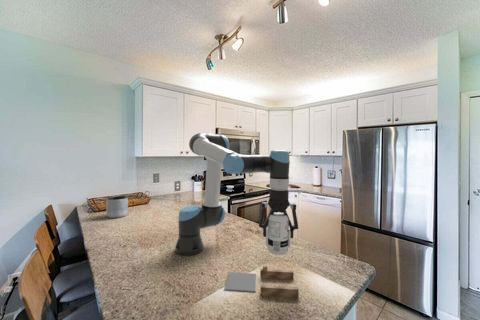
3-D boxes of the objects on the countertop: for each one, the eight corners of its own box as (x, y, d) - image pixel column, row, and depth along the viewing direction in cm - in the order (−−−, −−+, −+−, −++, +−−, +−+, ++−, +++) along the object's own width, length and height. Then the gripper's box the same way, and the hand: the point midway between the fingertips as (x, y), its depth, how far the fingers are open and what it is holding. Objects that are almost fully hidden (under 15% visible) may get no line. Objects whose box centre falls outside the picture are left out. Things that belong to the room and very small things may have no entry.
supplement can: (265, 246, 89) (266, 211, 88) (284, 246, 90) (285, 211, 89) (269, 255, 81) (270, 216, 80) (290, 255, 82) (291, 216, 81)
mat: (224, 290, 82) (224, 289, 82) (228, 273, 94) (228, 272, 94) (255, 292, 81) (255, 291, 81) (255, 274, 93) (255, 273, 93)
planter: (112, 219, 169) (112, 200, 169) (102, 216, 178) (102, 198, 178) (131, 215, 183) (131, 197, 182) (121, 212, 191) (121, 195, 191)
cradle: (260, 295, 79) (260, 283, 79) (260, 275, 93) (260, 265, 92) (298, 297, 78) (298, 285, 78) (292, 277, 91) (292, 266, 91)
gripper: (252, 189, 82) (251, 247, 82) (308, 191, 80) (306, 250, 80) (253, 186, 89) (252, 239, 90) (303, 188, 87) (302, 242, 88)
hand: (277, 245), depth 85 cm, fingers closed on supplement can, 8 cm apart
